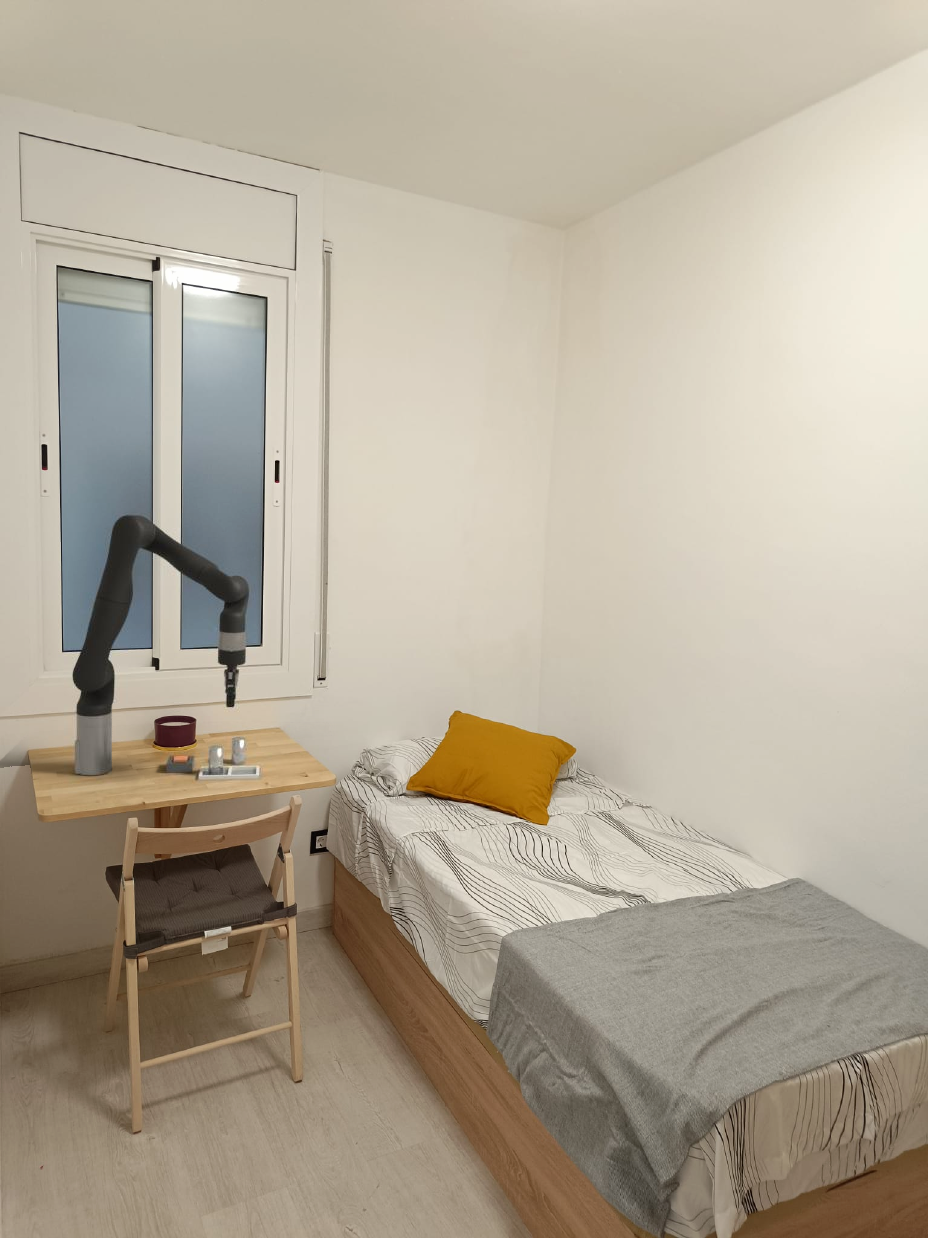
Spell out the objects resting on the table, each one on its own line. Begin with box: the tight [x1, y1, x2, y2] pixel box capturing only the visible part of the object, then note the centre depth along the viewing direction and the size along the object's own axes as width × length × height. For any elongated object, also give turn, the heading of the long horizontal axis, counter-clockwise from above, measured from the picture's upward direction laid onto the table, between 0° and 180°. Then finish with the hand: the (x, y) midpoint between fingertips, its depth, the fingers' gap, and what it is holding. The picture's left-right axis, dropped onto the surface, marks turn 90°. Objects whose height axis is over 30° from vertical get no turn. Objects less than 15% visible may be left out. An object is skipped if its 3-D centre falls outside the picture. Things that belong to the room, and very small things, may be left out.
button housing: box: [165, 755, 195, 774], centre depth 242 cm, size 7×7×4 cm
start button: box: [173, 755, 189, 762], centre depth 242 cm, size 4×4×2 cm
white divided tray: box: [196, 765, 262, 782], centre depth 240 cm, size 17×10×2 cm, turn 103°
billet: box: [230, 736, 247, 766], centre depth 250 cm, size 4×4×8 cm
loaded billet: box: [207, 745, 224, 775], centre depth 239 cm, size 4×4×8 cm
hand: (231, 703), depth 237 cm, fingers open, 8 cm apart
